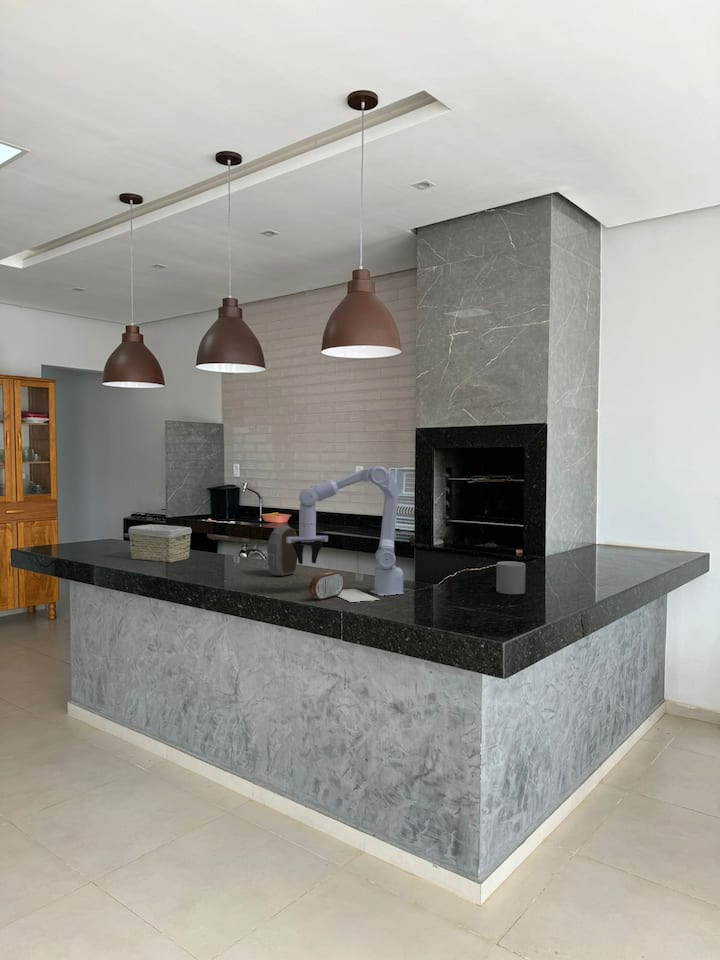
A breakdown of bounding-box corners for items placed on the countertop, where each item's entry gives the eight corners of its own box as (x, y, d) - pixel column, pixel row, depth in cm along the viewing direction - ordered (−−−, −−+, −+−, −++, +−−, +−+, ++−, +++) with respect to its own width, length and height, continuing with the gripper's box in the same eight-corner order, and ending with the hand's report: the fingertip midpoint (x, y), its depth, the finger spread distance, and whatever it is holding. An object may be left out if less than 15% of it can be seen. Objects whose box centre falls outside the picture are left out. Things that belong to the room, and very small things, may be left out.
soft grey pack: (278, 578, 270) (278, 526, 270) (260, 576, 274) (261, 525, 274) (300, 573, 283) (301, 523, 283) (283, 571, 287) (284, 522, 287)
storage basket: (193, 558, 320) (193, 526, 319) (170, 563, 305) (170, 529, 304) (150, 555, 329) (150, 523, 328) (126, 559, 314) (126, 526, 313)
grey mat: (354, 589, 250) (354, 588, 250) (379, 600, 231) (380, 599, 231) (327, 591, 245) (327, 590, 245) (350, 603, 227) (350, 601, 227)
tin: (339, 592, 241) (338, 568, 241) (346, 593, 239) (345, 569, 239) (308, 601, 230) (308, 575, 229) (315, 602, 228) (315, 576, 227)
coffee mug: (518, 595, 243) (519, 566, 243) (491, 592, 249) (492, 563, 249) (532, 589, 255) (533, 562, 254) (506, 586, 260) (507, 559, 260)
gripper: (322, 522, 248) (322, 560, 248) (283, 523, 242) (283, 562, 242) (330, 523, 241) (330, 563, 242) (290, 525, 235) (290, 565, 236)
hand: (307, 563), depth 242 cm, fingers open, 4 cm apart
